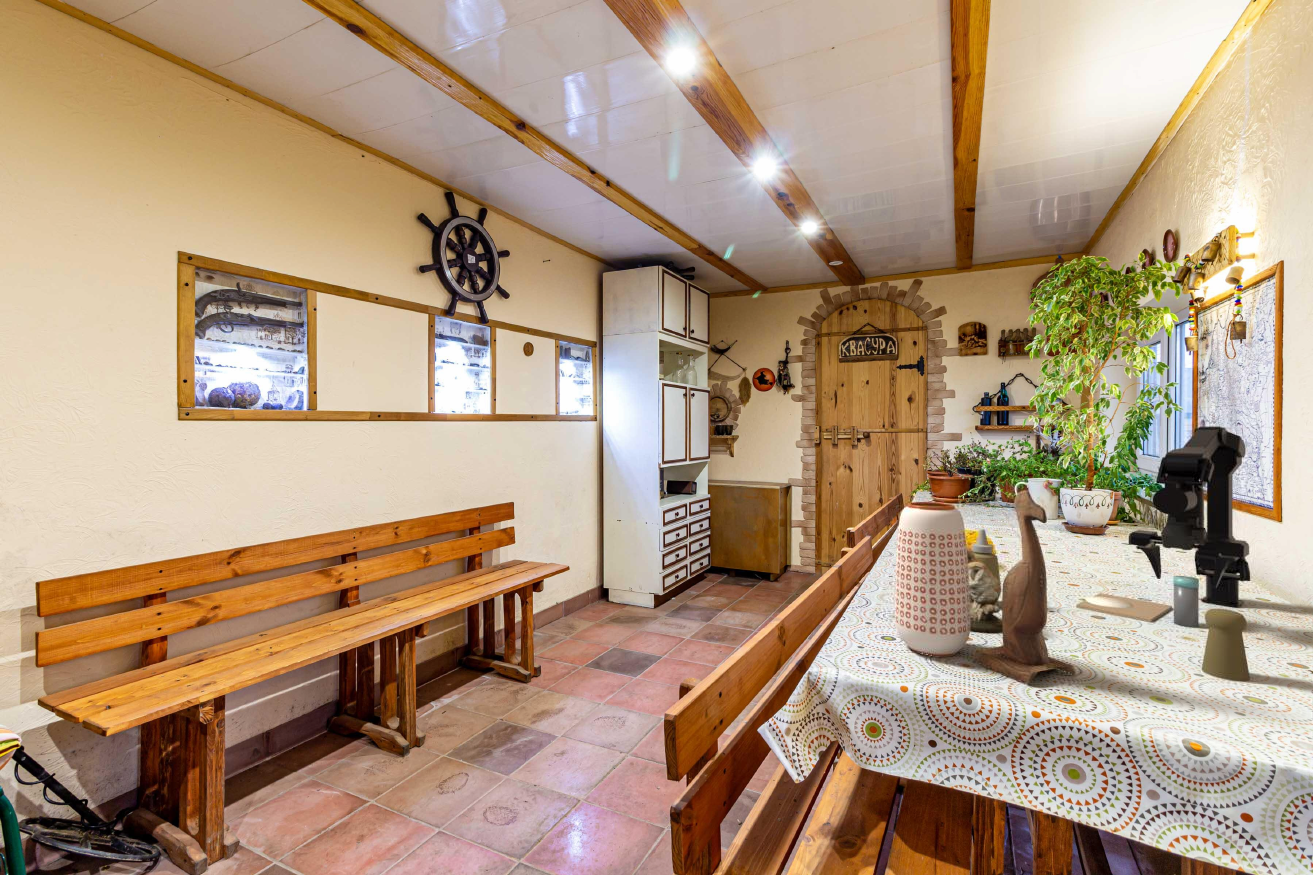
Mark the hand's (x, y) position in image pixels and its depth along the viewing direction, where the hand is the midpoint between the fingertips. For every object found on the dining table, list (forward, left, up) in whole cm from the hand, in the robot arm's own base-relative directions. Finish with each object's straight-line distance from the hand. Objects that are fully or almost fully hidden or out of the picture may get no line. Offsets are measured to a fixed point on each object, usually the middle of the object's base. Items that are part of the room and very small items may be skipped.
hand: (1186, 582), depth 127 cm
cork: (+28, +11, -9) cm, 32 cm away
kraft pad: (-4, -12, -9) cm, 15 cm away
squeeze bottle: (+18, -34, -9) cm, 40 cm away
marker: (0, 0, -9) cm, 9 cm away
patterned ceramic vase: (+56, -26, -9) cm, 63 cm away
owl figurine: (+35, -31, -9) cm, 48 cm away
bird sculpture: (+53, -11, -9) cm, 55 cm away
